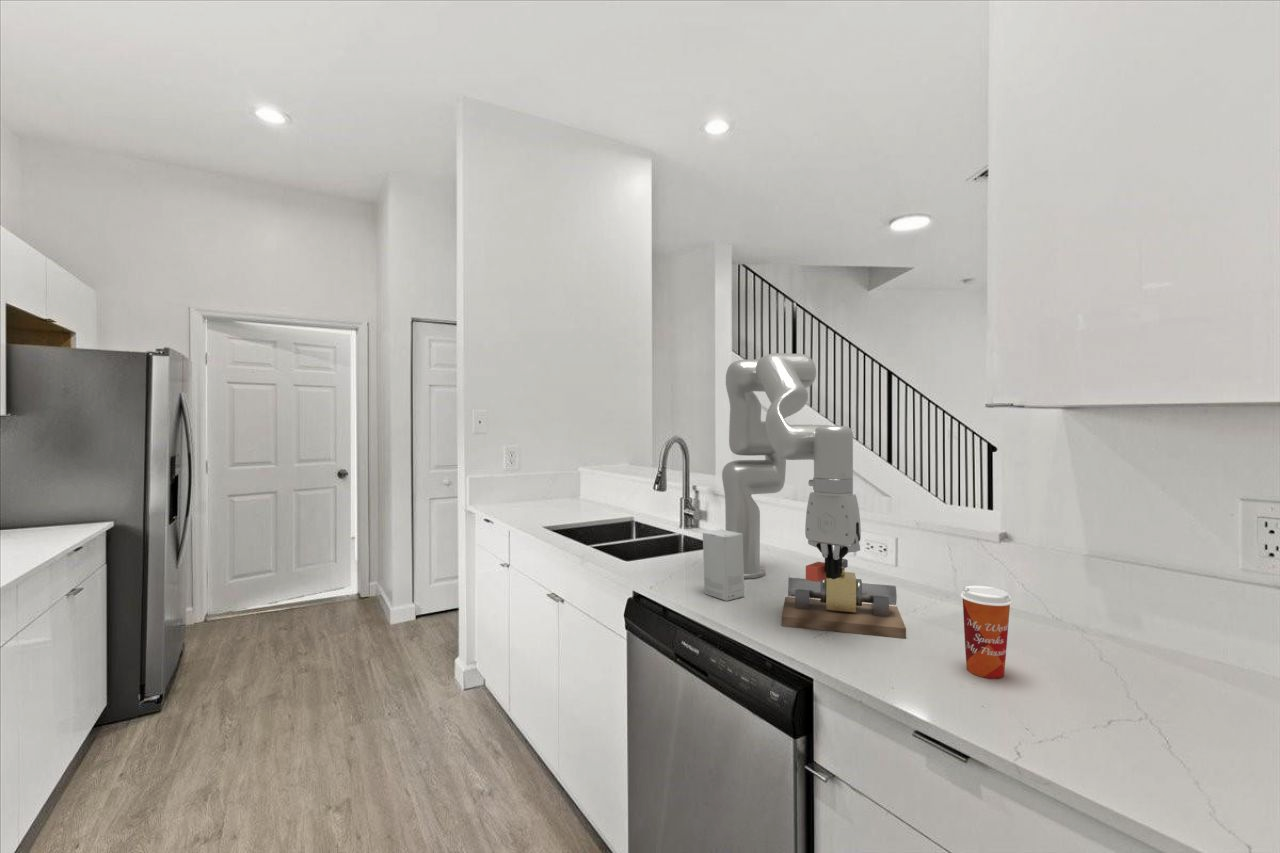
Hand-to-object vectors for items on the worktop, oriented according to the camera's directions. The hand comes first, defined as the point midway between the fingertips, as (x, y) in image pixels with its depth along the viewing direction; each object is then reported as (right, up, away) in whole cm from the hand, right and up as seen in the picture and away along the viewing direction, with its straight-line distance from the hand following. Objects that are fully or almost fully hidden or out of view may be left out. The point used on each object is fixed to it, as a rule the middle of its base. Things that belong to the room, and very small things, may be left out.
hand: (833, 577), depth 119 cm
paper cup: (+20, -12, -18) cm, 30 cm away
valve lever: (+1, -1, +5) cm, 5 cm away
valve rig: (+4, -11, +8) cm, 14 cm away
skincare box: (-19, -11, +26) cm, 34 cm away
